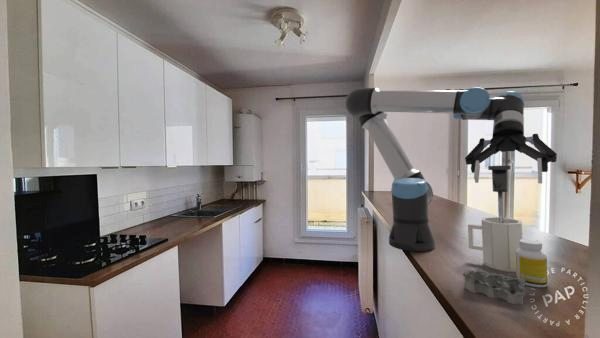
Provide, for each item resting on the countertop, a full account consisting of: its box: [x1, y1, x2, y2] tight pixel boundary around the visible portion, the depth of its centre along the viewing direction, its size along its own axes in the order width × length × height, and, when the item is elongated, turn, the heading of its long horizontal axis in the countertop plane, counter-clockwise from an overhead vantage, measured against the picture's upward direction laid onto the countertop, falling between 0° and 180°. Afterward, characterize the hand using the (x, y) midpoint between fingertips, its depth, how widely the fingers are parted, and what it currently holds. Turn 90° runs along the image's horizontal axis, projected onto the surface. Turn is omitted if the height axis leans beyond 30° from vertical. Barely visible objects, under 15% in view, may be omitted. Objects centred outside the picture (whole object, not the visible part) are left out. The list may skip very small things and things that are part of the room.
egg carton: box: [463, 268, 526, 305], centre depth 56 cm, size 11×8×4 cm
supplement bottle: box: [515, 238, 548, 288], centre depth 59 cm, size 5×5×10 cm
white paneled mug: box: [467, 216, 524, 273], centre depth 71 cm, size 12×8×12 cm
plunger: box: [488, 165, 512, 223], centre depth 69 cm, size 6×6×20 cm
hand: (506, 180), depth 69 cm, fingers open, 13 cm apart
